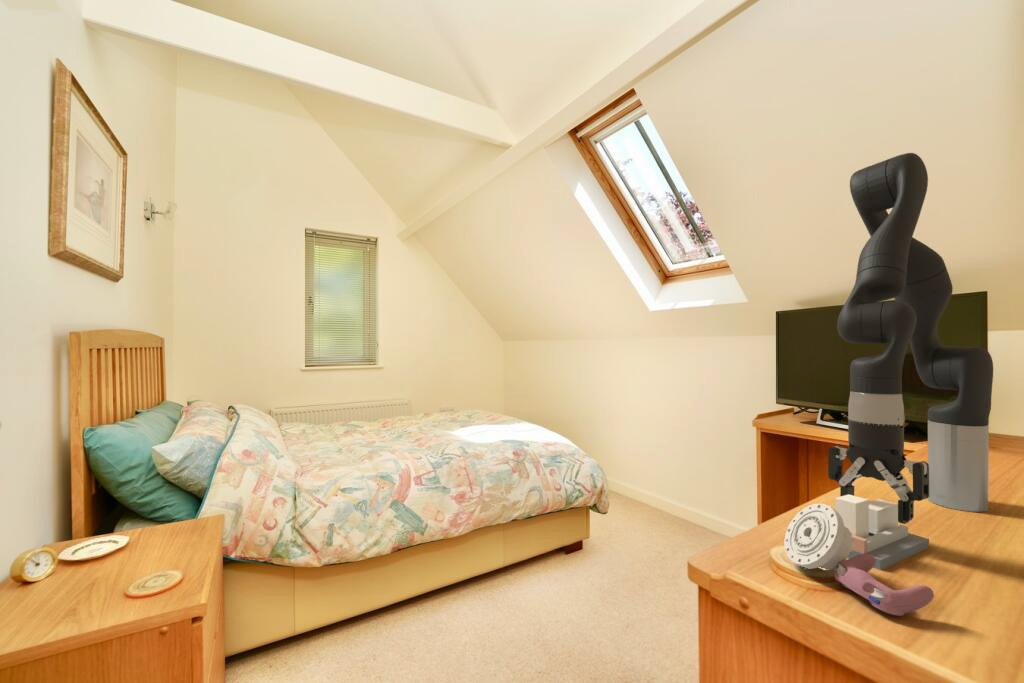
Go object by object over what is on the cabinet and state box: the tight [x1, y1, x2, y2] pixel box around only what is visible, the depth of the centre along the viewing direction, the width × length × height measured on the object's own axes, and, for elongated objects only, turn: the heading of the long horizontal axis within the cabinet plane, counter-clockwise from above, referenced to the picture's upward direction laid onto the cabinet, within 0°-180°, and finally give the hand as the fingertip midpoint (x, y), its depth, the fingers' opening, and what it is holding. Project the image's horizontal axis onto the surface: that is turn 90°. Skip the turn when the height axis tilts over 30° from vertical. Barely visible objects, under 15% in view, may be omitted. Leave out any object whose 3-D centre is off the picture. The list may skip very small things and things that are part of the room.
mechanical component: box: [783, 503, 854, 571], centre depth 70 cm, size 10×4×10 cm
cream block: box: [869, 498, 899, 536], centre depth 80 cm, size 5×3×7 cm
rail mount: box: [834, 494, 930, 571], centre depth 78 cm, size 16×11×8 cm
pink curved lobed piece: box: [834, 554, 935, 617], centre depth 62 cm, size 10×5×7 cm
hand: (875, 514), depth 80 cm, fingers open, 7 cm apart
